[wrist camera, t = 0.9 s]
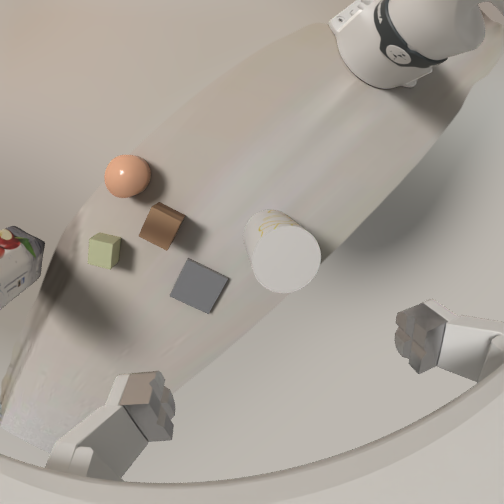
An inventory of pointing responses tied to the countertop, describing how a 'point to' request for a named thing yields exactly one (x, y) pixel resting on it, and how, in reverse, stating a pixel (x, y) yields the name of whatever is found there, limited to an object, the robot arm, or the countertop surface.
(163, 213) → the walnut block
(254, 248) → the cup
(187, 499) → the robot arm
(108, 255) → the olive block
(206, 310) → the slate coaster
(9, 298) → the juice carton
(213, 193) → the countertop surface
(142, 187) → the peach glossy ball
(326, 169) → the countertop surface
